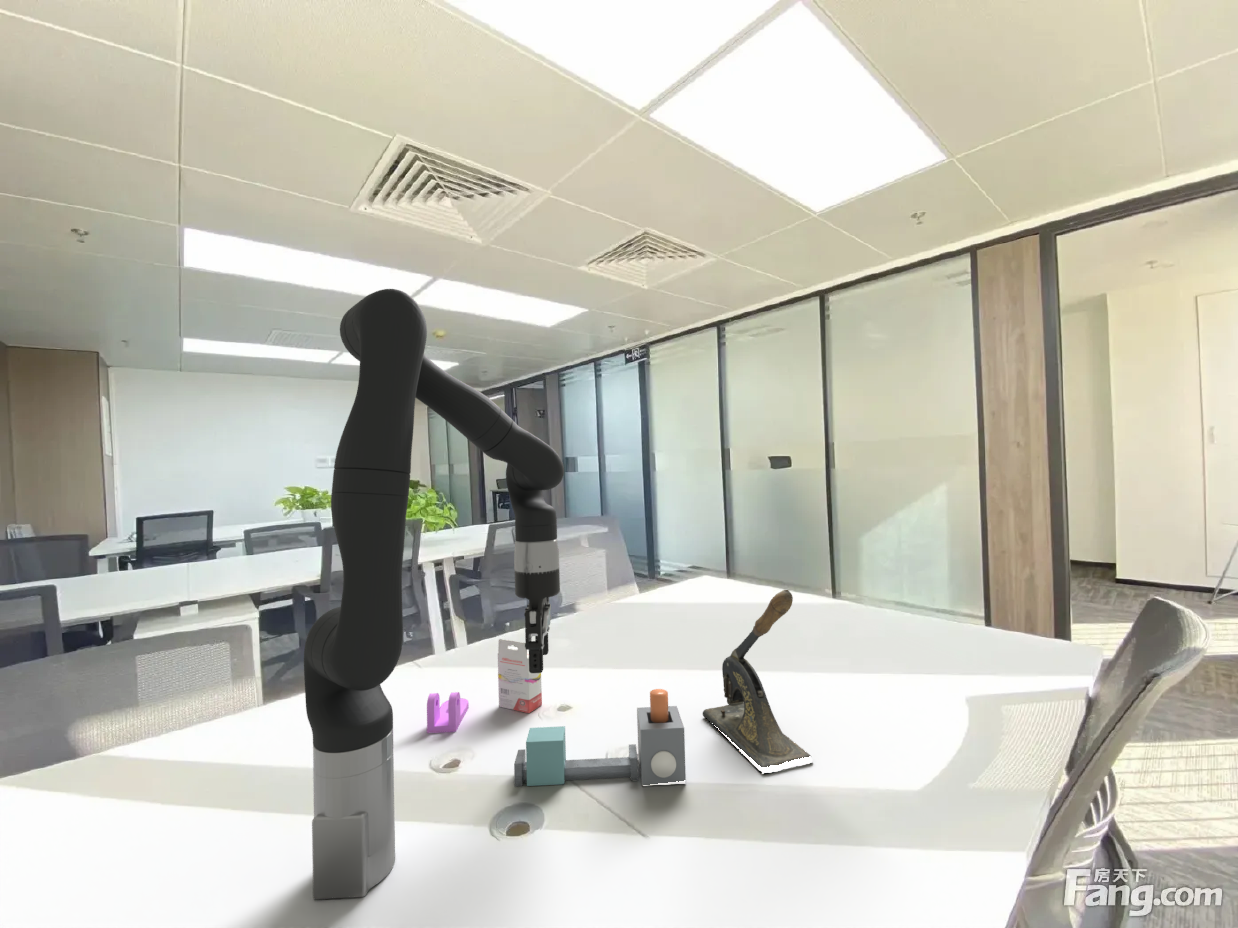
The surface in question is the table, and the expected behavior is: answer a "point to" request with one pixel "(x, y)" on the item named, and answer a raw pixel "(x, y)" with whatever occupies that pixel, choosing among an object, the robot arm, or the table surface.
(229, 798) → the table surface
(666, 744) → the cabinet
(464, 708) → the bracket
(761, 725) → the embossing press
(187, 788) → the table surface
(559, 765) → the block
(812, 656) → the table surface
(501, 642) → the ink cartridge box
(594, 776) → the rail
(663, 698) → the gauge button
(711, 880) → the table surface
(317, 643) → the robot arm
